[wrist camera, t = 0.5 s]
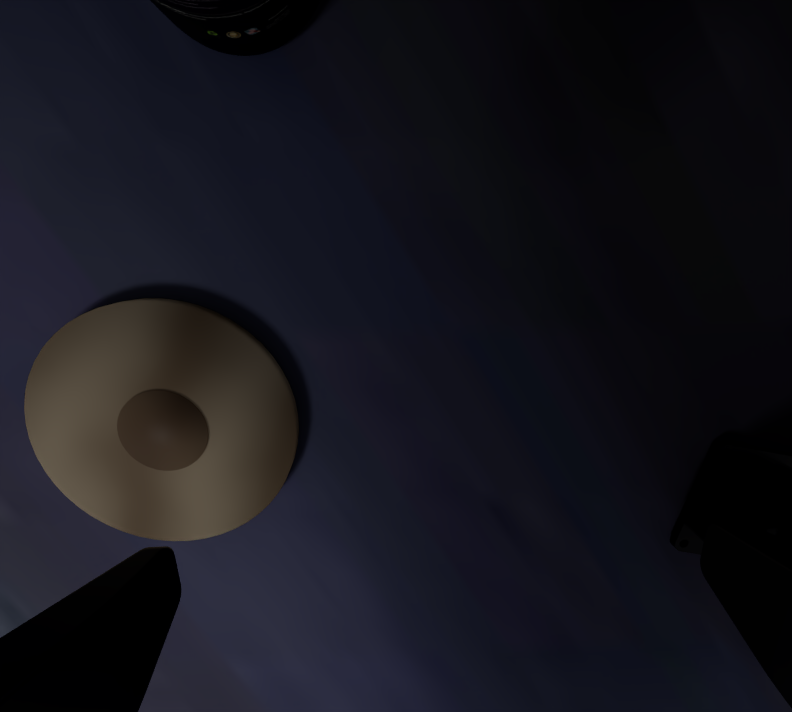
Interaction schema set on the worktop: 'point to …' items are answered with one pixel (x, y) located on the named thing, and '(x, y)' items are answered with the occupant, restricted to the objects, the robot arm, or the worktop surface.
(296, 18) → the supplement bottle
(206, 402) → the cork trivet
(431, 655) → the worktop surface
